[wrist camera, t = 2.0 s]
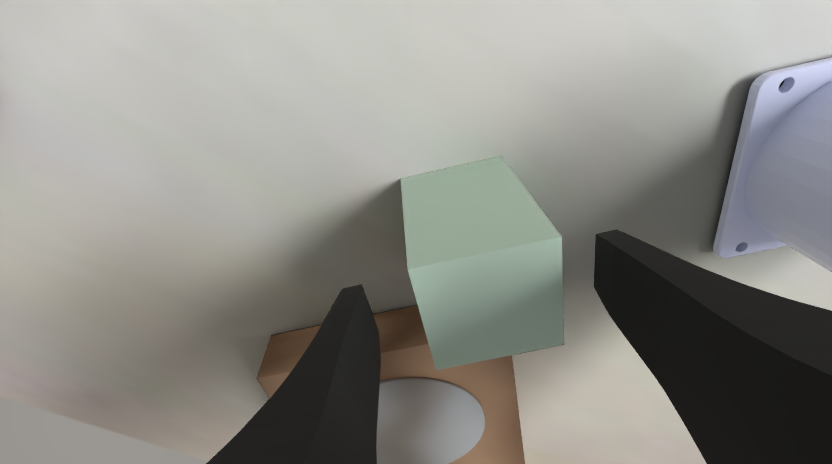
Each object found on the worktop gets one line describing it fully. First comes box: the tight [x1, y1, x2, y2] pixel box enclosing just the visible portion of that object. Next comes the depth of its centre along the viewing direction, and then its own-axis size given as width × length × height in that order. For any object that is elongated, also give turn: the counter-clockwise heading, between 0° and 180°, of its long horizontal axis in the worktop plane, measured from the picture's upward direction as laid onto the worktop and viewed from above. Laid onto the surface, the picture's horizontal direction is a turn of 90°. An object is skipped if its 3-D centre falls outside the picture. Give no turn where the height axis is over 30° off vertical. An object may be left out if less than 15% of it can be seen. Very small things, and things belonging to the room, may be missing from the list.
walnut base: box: [257, 305, 525, 464], centre depth 20 cm, size 11×11×3 cm
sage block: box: [400, 156, 564, 370], centre depth 13 cm, size 4×4×6 cm
